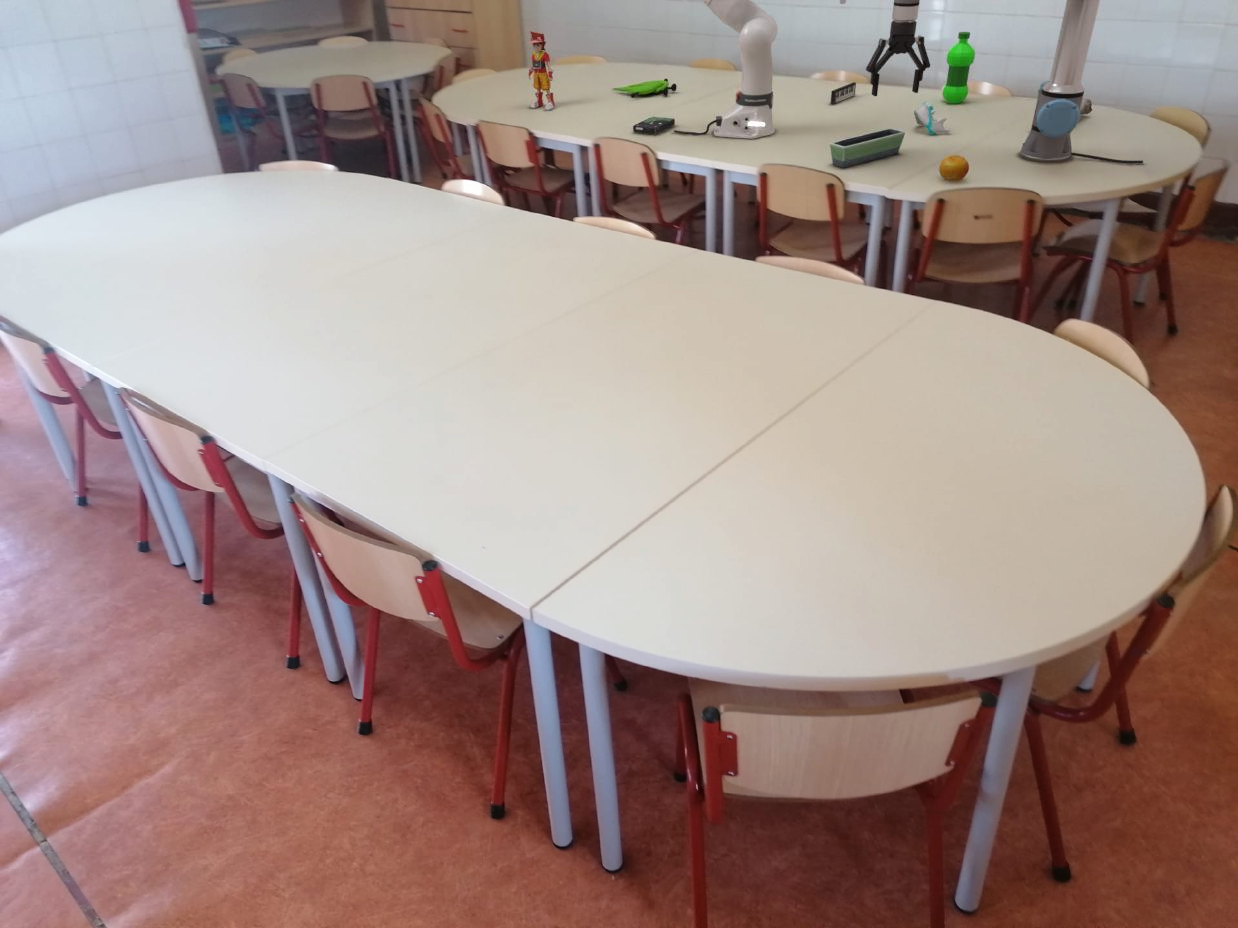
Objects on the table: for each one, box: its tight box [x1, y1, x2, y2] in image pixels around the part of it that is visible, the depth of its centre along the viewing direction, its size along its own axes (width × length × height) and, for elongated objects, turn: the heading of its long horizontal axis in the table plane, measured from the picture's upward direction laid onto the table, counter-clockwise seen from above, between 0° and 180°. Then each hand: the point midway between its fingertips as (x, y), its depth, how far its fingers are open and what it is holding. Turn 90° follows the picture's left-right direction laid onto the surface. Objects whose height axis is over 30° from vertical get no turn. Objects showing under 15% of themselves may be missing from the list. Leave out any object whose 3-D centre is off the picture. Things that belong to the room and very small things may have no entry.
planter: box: [829, 127, 906, 169], centre depth 298 cm, size 28×7×7 cm, turn 121°
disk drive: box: [632, 116, 676, 136], centre depth 344 cm, size 10×3×15 cm
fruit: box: [938, 154, 970, 182], centre depth 276 cm, size 8×8×8 cm
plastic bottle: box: [942, 31, 976, 104], centre depth 348 cm, size 10×10×25 cm
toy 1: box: [527, 31, 556, 111], centre depth 374 cm, size 12×9×30 cm
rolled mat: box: [1080, 97, 1093, 116], centre depth 320 cm, size 30×9×10 cm
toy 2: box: [612, 78, 677, 99], centre depth 396 cm, size 28×5×30 cm
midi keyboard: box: [830, 81, 857, 105], centre depth 365 cm, size 18×1×5 cm, turn 138°
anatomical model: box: [913, 101, 951, 135], centre depth 322 cm, size 15×10×10 cm
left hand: (846, 1), depth 299 cm, fingers open, 8 cm apart
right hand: (894, 94), depth 286 cm, fingers open, 13 cm apart
